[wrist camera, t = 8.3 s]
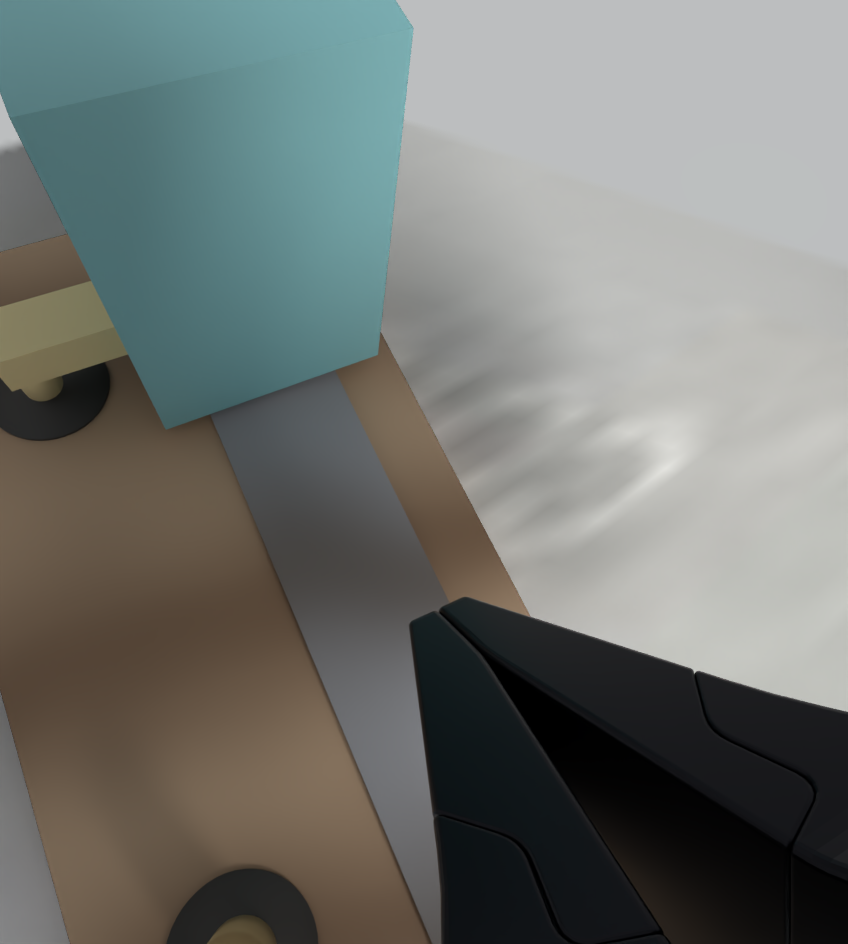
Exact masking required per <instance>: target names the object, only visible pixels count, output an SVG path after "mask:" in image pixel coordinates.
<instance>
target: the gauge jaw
mask: <svg viewBox="0 0 848 944" xmlns="http://www.w3.org/2000/svg"><path fill="white" fill-rule="evenodd" d="M412 37H413V26H412V25H411V24H410V22H409V20H408V19H407V18H406V16H405V14H404V13H403V11H402V10H401V8H400V6H399V5H398V3H397V2H396V0H0V93H1V96H2V99H3V101H4V104H5V107H6V109H7V112H8V115H9V117H10V120H11V121H12V124H13V126H14V128H15V129H16V132H17V133H18V136H19V138H20V140H21V142H22V144H23V146H24V148H25V150H26V152H27V154H28V156H29V158H30V160H31V162H32V164H33V166H34V168H35V170H36V172H37V174H38V176H39V178H40V180H41V181H42V183H43V185H44V187H45V189H46V191H47V193H48V195H49V197H50V199H51V201H52V203H53V205H54V207H55V209H56V211H57V213H58V215H59V217H60V219H61V221H62V223H63V225H64V227H65V229H66V231H67V233H68V235H69V237H70V239H71V241H72V243H73V245H74V247H75V249H76V251H77V253H78V255H79V257H80V259H81V261H82V263H83V265H84V267H85V269H86V271H87V273H88V275H89V277H90V279H91V281H89V282H85V283H82V284H78V285H75V286H71V287H68V288H64V289H61V290H57V291H54V292H51V293H47V294H44V295H40V296H37V297H33V298H30V299H26V300H23V301H19V302H16V303H12V304H9V305H6V306H2V307H0V378H1V379H2V380H3V381H4V383H5V384H6V385H7V386H8V387H9V388H10V390H11V391H15V390H18V389H22V391H23V392H24V393H25V394H26V395H27V396H28V397H29V398H30V399H32V400H35V401H48V400H50V399H53V398H54V397H56V396H57V395H58V394H59V393H60V392H61V390H62V388H63V379H62V377H61V376H62V375H65V374H68V373H72V372H75V371H78V370H81V369H84V368H87V367H90V366H93V365H97V364H100V363H103V362H106V361H109V360H112V359H115V358H118V357H121V356H125V355H129V357H130V359H131V361H132V363H133V365H134V367H135V369H136V371H137V373H138V375H139V377H140V379H141V381H142V383H143V385H144V387H145V389H146V391H147V393H148V395H149V397H150V399H151V401H152V403H153V405H154V407H155V409H156V411H157V413H158V415H159V417H160V419H161V421H162V423H163V425H164V427H165V429H166V430H167V429H170V428H172V427H175V426H178V425H181V424H184V423H187V422H189V421H192V420H195V419H198V418H201V417H204V416H206V415H209V414H212V413H215V412H218V411H221V410H223V409H226V408H229V407H232V406H235V405H238V404H240V403H243V402H246V401H249V400H252V399H255V398H257V397H260V396H263V395H266V394H269V393H272V392H274V391H277V390H280V389H283V388H286V387H289V386H291V385H294V384H297V383H300V382H303V381H305V380H308V379H311V378H314V377H317V376H320V375H322V374H325V373H328V372H331V371H334V370H337V369H339V368H342V367H345V366H348V365H351V364H354V363H356V362H359V361H362V360H365V359H368V358H371V357H373V356H376V355H378V349H379V340H380V330H381V321H382V312H383V303H384V294H385V285H386V275H387V266H388V257H389V248H390V239H391V230H392V220H393V211H394V202H395V193H396V184H397V175H398V165H399V156H400V147H401V138H402V129H403V120H404V110H405V101H406V92H407V83H408V74H409V65H410V55H411V46H412Z"/></svg>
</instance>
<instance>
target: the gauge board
mask: <svg viewBox="0 0 848 944" xmlns="http://www.w3.org/2000/svg"><path fill="white" fill-rule="evenodd" d="M89 281H91V279H90V277H89V275H88V273H87V271H86V269H85V267H84V265H83V263H82V261H81V259H80V257H79V255H78V253H77V251H76V249H75V247H74V245H73V243H72V241H71V239H70V237H69V235H68V234H65V235H62V236H58V237H54V238H50V239H47V240H43V241H39V242H36V243H32V244H28V245H24V246H21V247H17V248H13V249H10V250H6V251H2V252H0V307H2V306H6V305H9V304H12V303H16V302H19V301H23V300H26V299H30V298H33V297H37V296H40V295H44V294H47V293H51V292H54V291H57V290H61V289H64V288H68V287H71V286H75V285H78V284H82V283H85V282H89ZM61 377H62V379H63V388H62V390H61V392H60V393H59V394H58V395H57V396H56V397H54V398H53V399H50V400H48V401H35V400H32V399H30V398H29V397H28V396H27V395H26V394H25V393H24V392H23V391H22V389H18V390H15V391H11V390H10V388H9V387H8V386H7V385H6V384H5V383H4V381H3V380H2V379H1V378H0V691H1V695H2V699H3V702H4V706H5V709H6V713H7V717H8V720H9V724H10V728H11V731H12V735H13V738H14V742H15V746H16V749H17V753H18V757H19V760H20V764H21V767H22V771H23V775H24V778H25V782H26V786H27V789H28V793H29V797H30V800H31V804H32V807H33V811H34V815H35V818H36V822H37V826H38V829H39V833H40V836H41V840H42V844H43V847H44V851H45V855H46V858H47V862H48V865H49V869H50V873H51V876H52V880H53V884H54V887H55V891H56V895H57V898H58V902H59V905H60V909H61V913H62V916H63V920H64V924H65V927H66V931H67V934H68V938H69V942H70V944H441V898H440V882H439V871H438V859H437V848H436V841H435V833H434V825H433V820H434V818H433V814H432V806H431V798H430V790H429V782H428V774H427V766H426V758H425V750H424V742H423V734H422V726H421V719H420V711H419V703H418V695H417V687H416V679H415V671H414V663H413V655H412V647H411V639H410V631H409V624H410V622H411V621H412V620H414V619H417V618H419V617H421V616H423V615H425V614H427V613H429V612H432V611H438V612H439V609H440V608H441V607H442V606H444V605H446V604H449V603H451V602H453V601H455V600H457V599H459V598H461V597H470V598H474V599H477V600H480V601H483V602H486V603H489V604H492V605H495V606H498V607H502V608H505V609H508V610H511V611H514V612H517V613H520V614H523V615H526V616H530V615H529V613H528V611H527V609H526V607H525V605H524V603H523V601H522V599H521V597H520V596H519V594H518V592H517V590H516V588H515V586H514V584H513V582H512V580H511V579H510V577H509V575H508V573H507V571H506V569H505V567H504V565H503V563H502V561H501V560H500V558H499V556H498V554H497V552H496V550H495V548H494V546H493V544H492V542H491V541H490V539H489V537H488V535H487V533H486V531H485V529H484V527H483V525H482V523H481V522H480V520H479V518H478V516H477V514H476V512H475V510H474V508H473V506H472V504H471V503H470V501H469V499H468V497H467V495H466V493H465V491H464V489H463V487H462V485H461V484H460V482H459V480H458V478H457V476H456V474H455V472H454V470H453V468H452V466H451V465H450V463H449V461H448V459H447V457H446V455H445V453H444V451H443V449H442V447H441V446H440V444H439V442H438V440H437V438H436V436H435V434H434V432H433V430H432V429H431V427H430V425H429V423H428V421H427V419H426V417H425V415H424V413H423V411H422V410H421V408H420V406H419V404H418V402H417V400H416V398H415V396H414V394H413V392H412V391H411V389H410V387H409V385H408V383H407V381H406V379H405V377H404V375H403V373H402V372H401V370H400V368H399V366H398V364H397V362H396V360H395V358H394V356H393V354H392V353H391V351H390V349H389V347H388V345H387V343H386V341H385V339H384V337H383V335H382V334H381V332H380V340H379V349H378V355H376V356H373V357H371V358H368V359H365V360H362V361H359V362H356V363H354V364H351V365H348V366H345V367H342V368H339V369H337V370H334V371H331V372H328V373H325V374H322V375H320V376H317V377H314V378H311V379H308V380H305V381H303V382H300V383H297V384H294V385H291V386H289V387H286V388H283V389H280V390H277V391H274V392H272V393H269V394H266V395H263V396H260V397H257V398H255V399H252V400H249V401H246V402H243V403H240V404H238V405H235V406H232V407H229V408H226V409H223V410H221V411H218V412H215V413H212V414H209V415H206V416H204V417H201V418H198V419H195V420H192V421H189V422H187V423H184V424H181V425H178V426H175V427H172V428H170V429H167V430H166V429H165V427H164V425H163V423H162V421H161V419H160V417H159V415H158V413H157V411H156V409H155V407H154V405H153V403H152V401H151V399H150V397H149V395H148V393H147V391H146V389H145V387H144V385H143V383H142V381H141V379H140V377H139V375H138V373H137V371H136V369H135V367H134V365H133V363H132V361H131V359H130V357H129V355H125V356H121V357H118V358H115V359H112V360H109V361H106V362H103V363H100V364H97V365H93V366H90V367H87V368H84V369H81V370H78V371H75V372H72V373H68V374H65V375H62V376H61ZM530 617H531V616H530Z"/></svg>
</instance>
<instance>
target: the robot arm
mask: <svg viewBox="0 0 848 944" xmlns="http://www.w3.org/2000/svg"><path fill="white" fill-rule="evenodd" d="M409 631H410V639H411V647H412V655H413V663H414V671H415V679H416V687H417V695H418V703H419V711H420V719H421V726H422V734H423V742H424V750H425V758H426V766H427V774H428V782H429V790H430V798H431V806H432V814H433V818H434V820H433V825H434V833H435V841H436V848H437V859H438V871H439V882H440V898H441V944H848V712H846V711H841V710H837V709H833V708H828V707H824V706H820V705H816V704H812V703H808V702H804V701H800V700H797V699H793V698H789V697H785V696H781V695H777V694H773V693H770V692H766V691H763V690H759V689H756V688H753V687H749V686H746V685H743V684H739V683H736V682H732V681H729V680H726V679H723V678H720V677H717V676H713V675H710V674H707V673H704V672H701V671H697V672H696V673H695V674H694V671H693V670H692V669H691V668H688V667H685V666H682V665H679V664H675V663H672V662H669V661H666V660H663V659H660V658H657V657H654V656H651V655H648V654H644V653H641V652H638V651H635V650H632V649H629V648H626V647H623V646H620V645H616V644H613V643H610V642H607V641H604V640H601V639H598V638H595V637H592V636H589V635H585V634H582V633H579V632H576V631H573V630H570V629H567V628H564V627H561V626H557V625H554V624H551V623H548V622H545V621H542V620H539V619H536V618H533V617H530V616H526V615H523V614H520V613H517V612H514V611H511V610H508V609H505V608H502V607H498V606H495V605H492V604H489V603H486V602H483V601H480V600H477V599H474V598H470V597H461V598H459V599H457V600H455V601H453V602H451V603H449V604H446V605H444V606H442V607H441V608H440V609H439V612H438V611H432V612H429V613H427V614H425V615H423V616H421V617H419V618H417V619H414V620H412V621H411V622H410V624H409Z"/></svg>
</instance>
